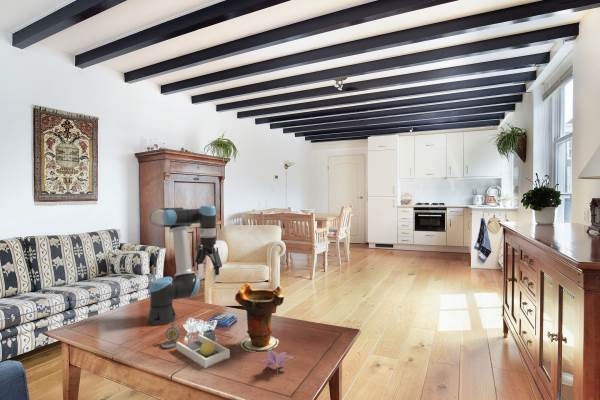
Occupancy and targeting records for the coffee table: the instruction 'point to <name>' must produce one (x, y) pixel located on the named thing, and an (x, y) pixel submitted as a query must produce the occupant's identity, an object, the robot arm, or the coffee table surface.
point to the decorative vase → (259, 316)
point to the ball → (207, 348)
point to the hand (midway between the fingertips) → (208, 279)
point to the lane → (205, 361)
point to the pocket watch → (171, 337)
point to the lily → (276, 359)
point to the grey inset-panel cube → (209, 334)
